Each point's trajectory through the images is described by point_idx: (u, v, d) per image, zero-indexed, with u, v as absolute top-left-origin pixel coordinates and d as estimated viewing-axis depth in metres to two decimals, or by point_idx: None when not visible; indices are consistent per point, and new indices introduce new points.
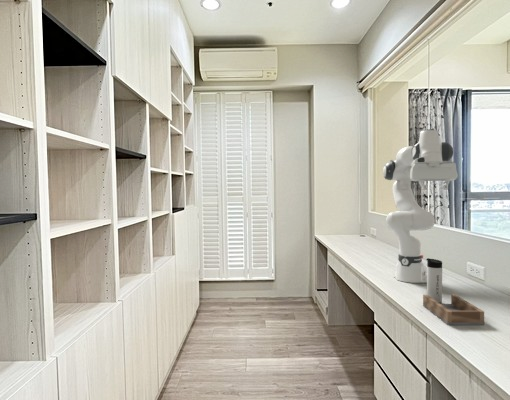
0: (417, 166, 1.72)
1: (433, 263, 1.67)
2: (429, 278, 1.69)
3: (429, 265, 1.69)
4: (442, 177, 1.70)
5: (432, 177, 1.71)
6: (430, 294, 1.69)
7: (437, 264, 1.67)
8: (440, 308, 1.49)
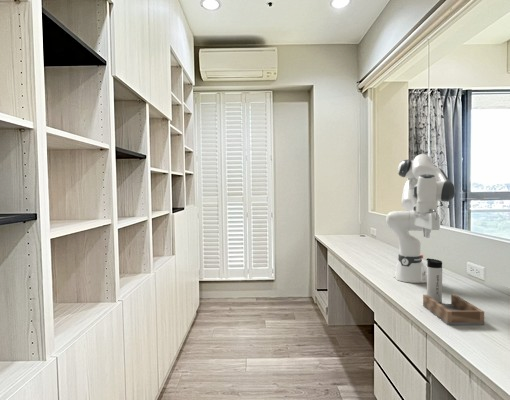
0: (415, 213, 1.85)
1: (433, 263, 1.67)
2: (429, 278, 1.69)
3: (429, 265, 1.69)
4: (425, 227, 1.74)
5: (421, 226, 1.79)
6: (430, 294, 1.69)
7: (437, 264, 1.67)
8: (440, 308, 1.49)
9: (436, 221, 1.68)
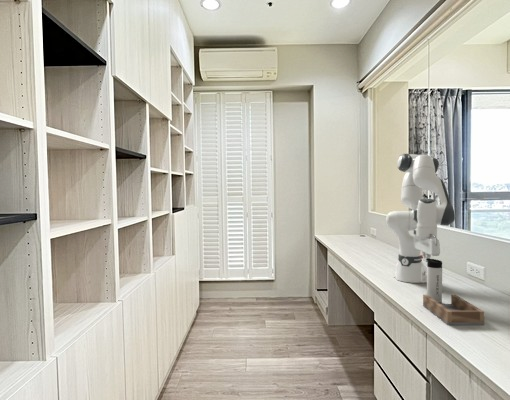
0: (415, 237, 1.85)
1: (433, 263, 1.67)
2: (429, 278, 1.69)
3: (429, 265, 1.69)
4: (425, 252, 1.75)
5: (421, 250, 1.79)
6: (430, 294, 1.69)
7: (437, 264, 1.67)
8: (440, 308, 1.49)
9: (436, 247, 1.68)
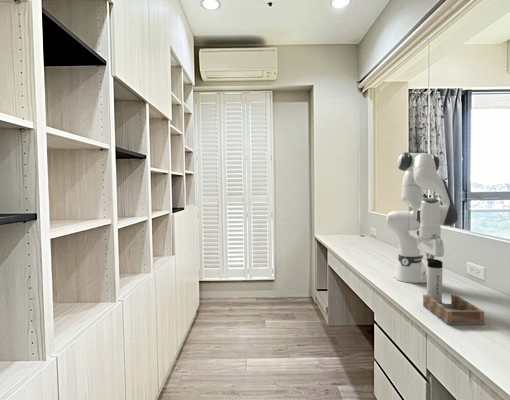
0: (418, 237, 1.81)
1: (433, 263, 1.67)
2: (429, 278, 1.69)
3: (430, 265, 1.68)
4: (429, 253, 1.71)
5: (425, 251, 1.75)
6: (430, 294, 1.69)
7: (437, 264, 1.66)
8: (440, 308, 1.49)
9: (440, 248, 1.64)
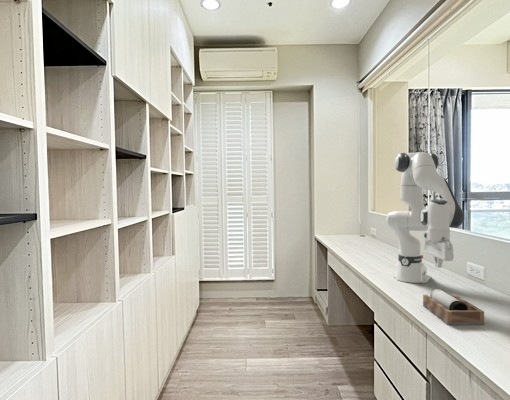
0: (426, 240, 1.73)
1: None
2: None
3: None
4: (437, 256, 1.63)
5: (433, 254, 1.67)
6: None
7: None
8: (440, 308, 1.49)
9: (450, 251, 1.56)
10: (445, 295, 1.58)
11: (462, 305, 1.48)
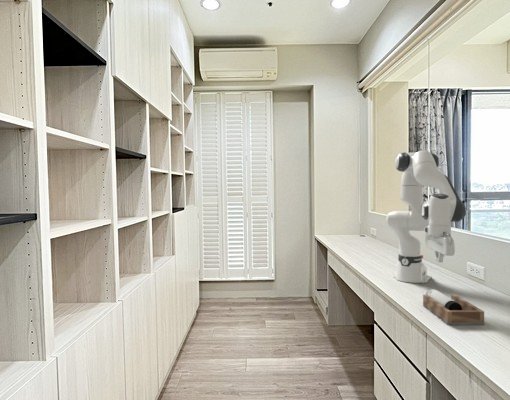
0: (427, 235, 1.72)
1: None
2: None
3: None
4: (438, 251, 1.62)
5: (434, 249, 1.66)
6: None
7: None
8: (440, 308, 1.49)
9: (451, 246, 1.55)
10: (436, 298, 1.58)
11: (454, 305, 1.48)
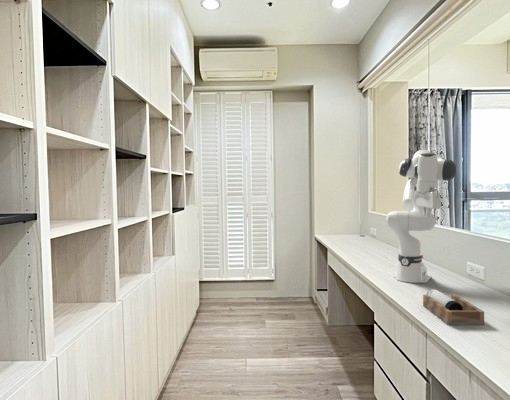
0: (416, 193, 1.82)
1: None
2: None
3: None
4: (426, 206, 1.72)
5: (422, 205, 1.76)
6: None
7: None
8: (440, 308, 1.49)
9: (437, 200, 1.65)
10: (437, 297, 1.58)
11: (455, 304, 1.48)
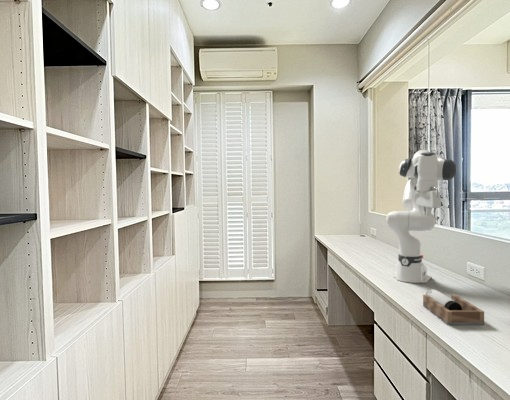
0: (416, 193, 1.82)
1: None
2: None
3: None
4: (426, 205, 1.72)
5: (422, 205, 1.76)
6: None
7: None
8: (440, 308, 1.49)
9: (437, 199, 1.65)
10: (436, 298, 1.58)
11: (453, 305, 1.48)
